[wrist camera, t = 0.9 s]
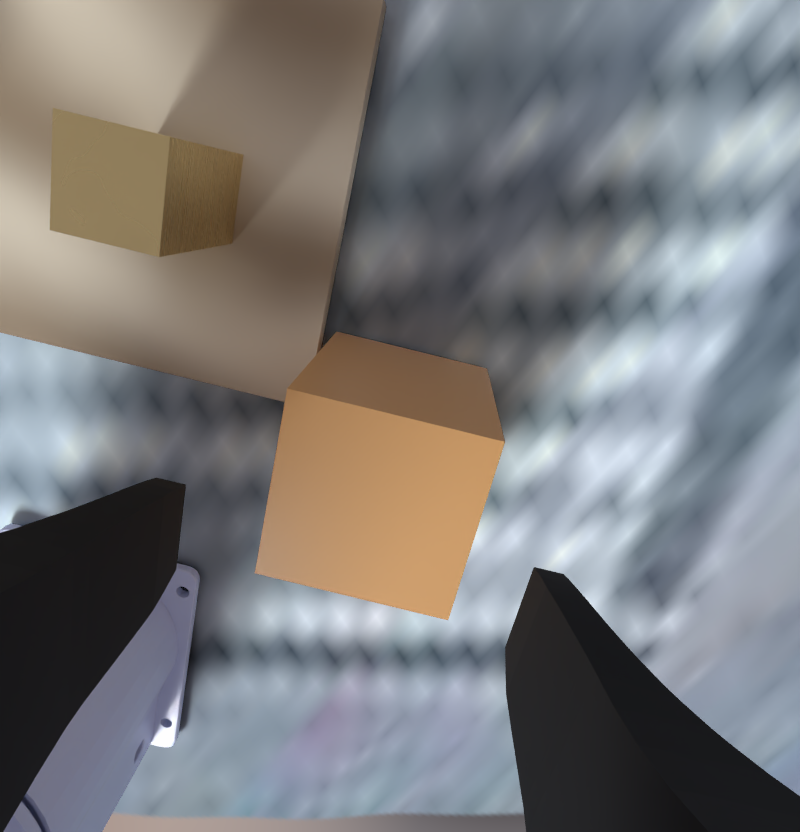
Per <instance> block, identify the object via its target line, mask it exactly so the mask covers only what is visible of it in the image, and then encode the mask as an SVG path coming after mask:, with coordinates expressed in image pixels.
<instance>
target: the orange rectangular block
mask: <svg viewBox="0 0 800 832" xmlns="http://www.w3.org/2000/svg"><path fill="white" fill-rule="evenodd" d="M504 443H505V440H504V436H503V432H502V428H501V424H500V420H499V415H498V411H497V407H496V403H495V399H494V395H493V391H492V387H491V383H490V379H489V374H488V370H487V368H483V367H479V366H475V365H471V364H467V363H463V362H459V361H455V360H451V359H447V358H443V357H439V356H435V355H431V354H426V353H422V352H418V351H414V350H410V349H406V348H402V347H398V346H394V345H390V344H386V343H382V342H378V341H374V340H370V339H366V338H362V337H357V336H353V335H349V334H345V333H341V332H337V331H336V333H335V334H334V335H333V336H332V337H331V338H330V340H329V341H328V342H327V343H326V344H325V345H324V346H323V348H322V349H321V350H320V351H319V352H318V353H317V355H316V356H315V357H314V358H313V359H312V360H311V361H310V363H309V364H308V365H307V366H306V367H305V368H304V370H303V371H302V372H301V373H300V374H299V375H298V376H297V378H296V379H295V380H294V381H293V382H292V383H291V385H290V386H289V387H288V388H287V392H286V398H285V403H284V409H283V415H282V421H281V426H280V432H279V438H278V443H277V449H276V455H275V461H274V466H273V472H272V478H271V483H270V489H269V495H268V501H267V506H266V512H265V518H264V523H263V529H262V535H261V541H260V546H259V552H258V558H257V563H256V569H255V573H256V574H260V575H264V576H268V577H272V578H277V579H281V580H285V581H289V582H293V583H297V584H301V585H305V586H310V587H314V588H318V589H322V590H326V591H330V592H334V593H338V594H342V595H347V596H351V597H355V598H359V599H363V600H367V601H371V602H375V603H380V604H384V605H388V606H392V607H396V608H400V609H404V610H408V611H413V612H417V613H421V614H425V615H429V616H433V617H437V618H441V619H446V620H448V619H449V616H450V612H451V609H452V606H453V603H454V600H455V597H456V594H457V590H458V587H459V584H460V581H461V578H462V575H463V572H464V569H465V565H466V562H467V559H468V556H469V553H470V550H471V547H472V544H473V540H474V537H475V534H476V531H477V528H478V525H479V522H480V518H481V515H482V512H483V509H484V506H485V503H486V500H487V497H488V493H489V490H490V487H491V484H492V481H493V478H494V475H495V472H496V468H497V465H498V462H499V459H500V456H501V453H502V450H503V446H504Z"/></svg>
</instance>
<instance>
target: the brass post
mask: <svg viewBox="0 0 800 832" xmlns="http://www.w3.org/2000/svg"><path fill="white" fill-rule="evenodd" d="M243 156H244V155H243V154H239V153H235V152H231V151H227V150H223V149H219V148H215V147H211V146H207V145H203V144H199V143H195V142H191V141H186V140H182V139H178V138H174V137H170V136H166V135H162V134H158V133H154V132H150V131H146V130H142V129H138V128H134V127H130V126H126V125H121V124H117V123H113V122H109V121H105V120H101V119H97V118H93V117H89V116H85V115H81V114H76V113H72V112H68V111H64V110H60V109H56V108H53V118H52V156H51V194H50V230H51V231H55V232H59V233H63V234H67V235H71V236H75V237H79V238H83V239H88V240H92V241H96V242H100V243H104V244H108V245H112V246H116V247H120V248H124V249H128V250H132V251H136V252H140V253H144V254H148V255H152V256H156V257H163V256H168V255H174V254H179V253H185V252H190V251H195V250H201V249H206V248H212V247H217V246H222V245H228V244H232V241H233V233H234V225H235V217H236V210H237V202H238V194H239V187H240V179H241V171H242V163H243Z"/></svg>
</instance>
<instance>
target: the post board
mask: <svg viewBox="0 0 800 832" xmlns="http://www.w3.org/2000/svg"><path fill="white" fill-rule="evenodd" d="M385 12H386V4H385V1H384V0H0V332H1V333H5V334H9V335H13V336H17V337H21V338H25V339H29V340H34V341H38V342H42V343H46V344H50V345H54V346H58V347H62V348H66V349H70V350H74V351H78V352H83V353H87V354H91V355H95V356H99V357H103V358H107V359H111V360H115V361H119V362H123V363H127V364H131V365H136V366H140V367H144V368H148V369H152V370H156V371H160V372H164V373H168V374H172V375H176V376H180V377H185V378H189V379H193V380H197V381H201V382H205V383H209V384H213V385H217V386H221V387H225V388H229V389H233V390H238V391H242V392H246V393H250V394H254V395H258V396H262V397H266V398H270V399H274V400H278V401H282V402H285V398H286V392H287V388H288V387H289V386H290V385H291V383H292V382H293V381H294V380H295V379H296V378H297V376H298V375H299V374H300V373H301V372H302V371H303V370H304V368H305V367H306V366H307V365H308V364H309V363H310V361H311V360H312V359H313V358H314V357H315V356H316V355H317V353H318V352H319V351H320V350H321V346H322V341H323V336H324V331H325V326H326V320H327V315H328V310H329V305H330V299H331V294H332V289H333V284H334V278H335V273H336V268H337V263H338V258H339V252H340V247H341V242H342V237H343V231H344V226H345V221H346V216H347V210H348V205H349V200H350V195H351V190H352V184H353V179H354V174H355V169H356V163H357V158H358V153H359V148H360V142H361V137H362V132H363V127H364V122H365V116H366V111H367V106H368V101H369V95H370V90H371V85H372V80H373V74H374V69H375V64H376V59H377V53H378V48H379V43H380V38H381V33H382V27H383V22H384V17H385ZM53 108H56V109H60V110H64V111H68V112H72V113H76V114H81V115H85V116H89V117H93V118H97V119H101V120H105V121H109V122H113V123H117V124H121V125H126V126H130V127H134V128H138V129H142V130H146V131H150V132H154V133H158V134H162V135H166V136H170V137H174V138H178V139H182V140H186V141H191V142H195V143H199V144H203V145H207V146H211V147H215V148H219V149H223V150H227V151H231V152H235V153H239V154H243V155H244V156H243V163H242V171H241V179H240V187H239V194H238V202H237V210H236V217H235V225H234V233H233V241H232V244H228V245H222V246H217V247H212V248H206V249H201V250H195V251H190V252H185V253H179V254H174V255H168V256H163V257H156V256H152V255H148V254H144V253H140V252H136V251H132V250H128V249H124V248H120V247H116V246H112V245H108V244H104V243H100V242H96V241H92V240H88V239H83V238H79V237H75V236H71V235H67V234H63V233H59V232H55V231H51V230H50V194H51V156H52V118H53Z"/></svg>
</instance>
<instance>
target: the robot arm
mask: <svg viewBox="0 0 800 832" xmlns="http://www.w3.org/2000/svg"><path fill="white" fill-rule="evenodd" d="M185 487H186V485H185V484H180V483H176V482H172V481H168V480H164V479H159V478H154V479H151V480H147V481H144V482H142V483H139V484H136V485H133V486H131V487H128V488H126V489H123V490H120V491H118V492H115V493H113V494H110V495H108V496H105V497H102V498H100V499H97V500H94V501H92V502H89V503H87V504H84V505H81V506H79V507H76V508H74V509H71V510H68V511H65V512H62V513H59V514H56V515H53V516H50V517H47V518H45V519H42V520H39V521H36V522H33V523H30V524H27V525H24V526H21V525H17V524H9V525H6V526H5V527H4V528H2V529H1V530H0V832H102V831H103V829H104V827H105V825H106V824H107V822H108V820H109V818H110V816H111V815H112V813H113V811H114V809H115V807H116V805H117V804H118V802H119V800H120V798H121V796H122V795H123V793H124V791H125V789H126V787H127V785H128V784H129V782H130V780H131V778H132V776H133V775H134V773H135V771H136V769H137V767H138V765H139V764H140V762H141V760H142V758H143V756H144V754H145V753H146V751H147V749H148V747H149V745H150V744H152V745H156V746H160V747H171V746H173V745H174V744H175V742H176V740H177V738H178V735H179V728H180V720H181V713H182V706H183V699H184V691H185V684H186V677H187V669H188V662H189V655H190V648H191V640H192V633H193V626H194V619H195V611H196V604H197V597H198V589H199V582H200V576H199V574H198V572H197V571H196V570H195V569H194V568H192V567H190V566H186V565H182V564H178V563H177V559H178V550H179V541H180V532H181V523H182V514H183V505H184V496H185ZM181 587H185V588H187V589H188V590H189V592H186V591H184V590H182V588H181ZM505 656H506V695H507V703H508V710H509V716H510V723H511V730H512V737H513V743H514V749H515V756H516V762H517V769H518V775H519V781H520V788H521V794H522V801H523V807H524V816H525V824H526V832H800V796H799V795H797V794H796V793H794V792H793V791H792V790H790V789H789V788H788V787H786V786H785V785H783V784H782V783H781V782H779V781H778V780H776V779H775V778H774V777H772V776H771V775H770V774H768V773H767V772H765V771H764V770H763V769H762V768H760V767H759V766H758V765H756V764H755V763H754V762H753V761H751V760H750V759H749V758H747V757H746V756H745V755H744V754H742V753H741V752H740V751H738V750H737V749H736V748H735V747H733V746H732V745H731V744H729V743H728V742H727V741H726V740H725V739H723V738H722V737H721V736H720V735H719V734H717V733H716V732H715V731H714V730H713V729H711V728H710V727H709V726H708V725H707V724H706V723H705V722H703V721H702V720H701V719H700V718H699V717H698V716H697V715H696V714H694V713H693V712H692V711H691V710H690V709H689V708H688V707H687V706H686V705H684V704H683V703H682V702H681V701H680V700H679V699H678V698H677V697H676V696H675V695H674V694H673V693H672V692H670V691H669V690H668V689H667V688H666V687H665V686H664V685H663V684H662V683H661V682H660V681H659V680H658V679H657V678H656V677H655V676H654V675H653V673H652V672H651V671H650V670H649V669H648V668H647V667H646V666H645V665H644V664H643V663H642V662H641V661H640V660H639V659H638V658H637V657H636V656H635V655H634V654H633V653H632V651H631V650H630V649H629V648H628V647H627V646H626V645H625V644H624V643H623V642H622V640H621V639H620V638H619V637H618V636H617V635H616V634H615V632H614V631H613V630H612V629H611V628H610V627H609V626H608V624H607V623H606V622H605V621H604V620H603V619H602V617H601V616H600V615H599V614H598V613H597V612H596V610H595V609H594V608H593V607H592V606H591V604H590V603H589V602H588V601H587V600H586V599H585V597H584V596H583V595H582V594H581V593H580V592H579V590H578V589H577V588H576V587H575V586H574V585H573V584H572V582H571V581H570V580H569V579H568V578H567V577H566V576H565V575H564V574H561V573H556V572H552V571H548V570H544V569H540V568H535V567H534V569H533V571H532V574H531V577H530V580H529V583H528V585H527V588H526V591H525V594H524V597H523V599H522V602H521V605H520V608H519V611H518V613H517V616H516V619H515V622H514V624H513V627H512V630H511V633H510V636H509V638H508V641H507V644H506V647H505ZM166 718H167V719H166ZM168 719H169V720H168Z"/></svg>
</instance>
